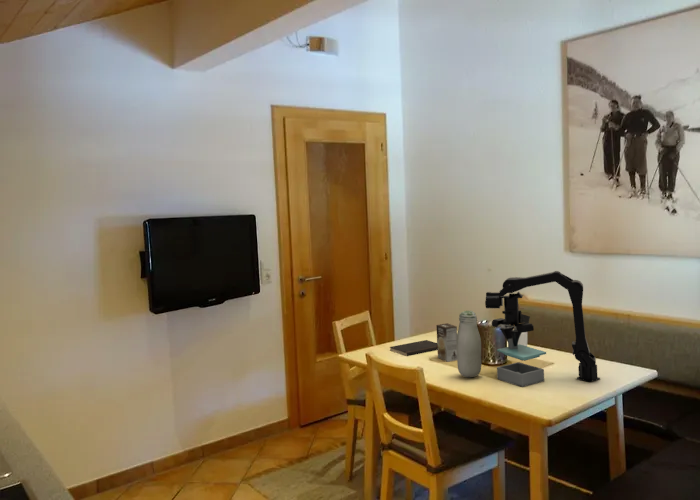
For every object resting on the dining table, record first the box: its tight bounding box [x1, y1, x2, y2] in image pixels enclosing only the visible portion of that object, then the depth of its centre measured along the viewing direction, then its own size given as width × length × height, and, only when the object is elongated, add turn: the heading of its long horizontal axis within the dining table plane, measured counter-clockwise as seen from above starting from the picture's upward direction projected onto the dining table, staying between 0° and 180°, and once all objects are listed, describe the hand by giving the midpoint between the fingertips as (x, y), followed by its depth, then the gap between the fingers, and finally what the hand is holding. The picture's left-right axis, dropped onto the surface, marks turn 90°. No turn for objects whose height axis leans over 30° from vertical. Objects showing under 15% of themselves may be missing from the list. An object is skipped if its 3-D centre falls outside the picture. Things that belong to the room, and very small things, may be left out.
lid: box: [496, 338, 547, 361], centre depth 248 cm, size 15×13×6 cm
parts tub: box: [496, 361, 545, 388], centre depth 247 cm, size 14×12×5 cm
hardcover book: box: [389, 339, 438, 357], centre depth 309 cm, size 16×23×2 cm
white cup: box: [518, 332, 528, 347], centre depth 292 cm, size 8×8×10 cm
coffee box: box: [436, 323, 458, 363], centre depth 286 cm, size 9×6×16 cm
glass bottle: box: [456, 310, 482, 378], centre depth 255 cm, size 10×10×28 cm
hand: (513, 345), depth 252 cm, fingers closed on lid, 2 cm apart
